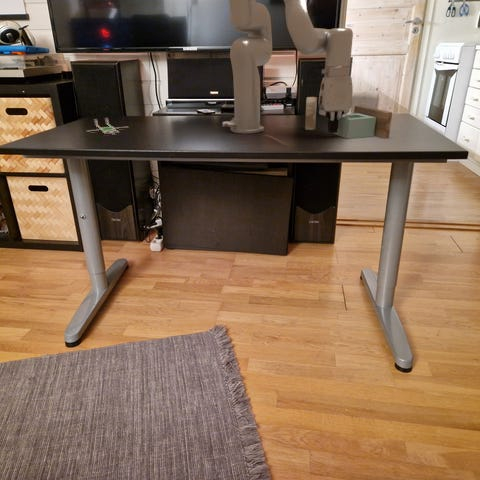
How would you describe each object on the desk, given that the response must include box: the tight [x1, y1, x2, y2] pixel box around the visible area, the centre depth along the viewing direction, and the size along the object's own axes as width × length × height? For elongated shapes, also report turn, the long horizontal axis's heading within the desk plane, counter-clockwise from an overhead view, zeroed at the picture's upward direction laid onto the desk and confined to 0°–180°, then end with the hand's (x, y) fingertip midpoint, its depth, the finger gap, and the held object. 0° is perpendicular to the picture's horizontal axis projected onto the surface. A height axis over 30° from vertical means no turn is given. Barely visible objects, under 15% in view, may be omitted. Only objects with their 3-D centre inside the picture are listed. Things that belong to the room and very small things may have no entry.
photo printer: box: [350, 89, 380, 114], centre depth 160 cm, size 10×4×12 cm, turn 60°
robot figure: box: [85, 117, 130, 135], centre depth 160 cm, size 16×3×22 cm
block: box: [332, 113, 376, 140], centre depth 136 cm, size 10×10×6 cm
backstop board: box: [354, 106, 393, 139], centre depth 135 cm, size 20×18×9 cm
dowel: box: [304, 96, 318, 131], centre depth 145 cm, size 4×4×12 cm
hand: (332, 132), depth 134 cm, fingers closed
